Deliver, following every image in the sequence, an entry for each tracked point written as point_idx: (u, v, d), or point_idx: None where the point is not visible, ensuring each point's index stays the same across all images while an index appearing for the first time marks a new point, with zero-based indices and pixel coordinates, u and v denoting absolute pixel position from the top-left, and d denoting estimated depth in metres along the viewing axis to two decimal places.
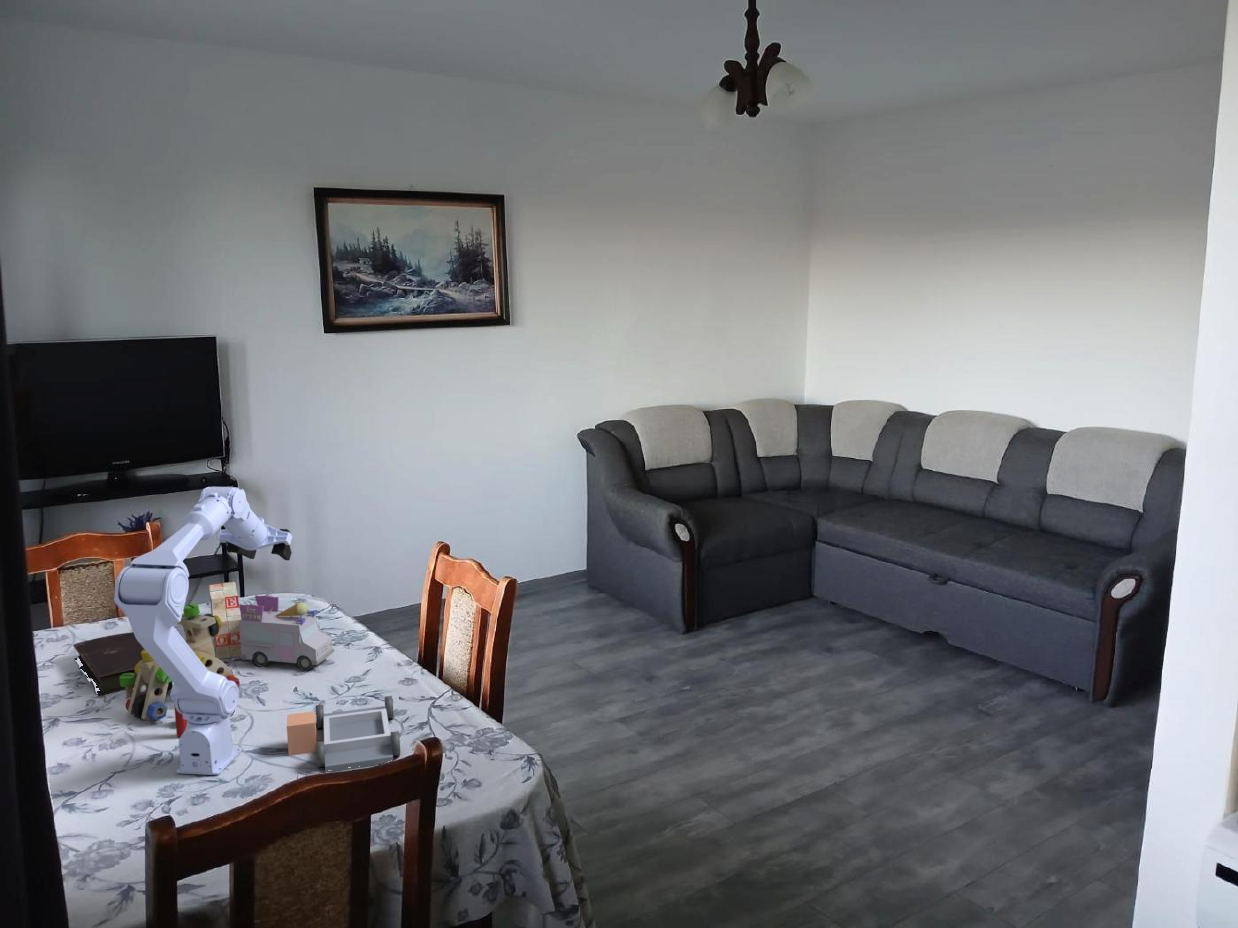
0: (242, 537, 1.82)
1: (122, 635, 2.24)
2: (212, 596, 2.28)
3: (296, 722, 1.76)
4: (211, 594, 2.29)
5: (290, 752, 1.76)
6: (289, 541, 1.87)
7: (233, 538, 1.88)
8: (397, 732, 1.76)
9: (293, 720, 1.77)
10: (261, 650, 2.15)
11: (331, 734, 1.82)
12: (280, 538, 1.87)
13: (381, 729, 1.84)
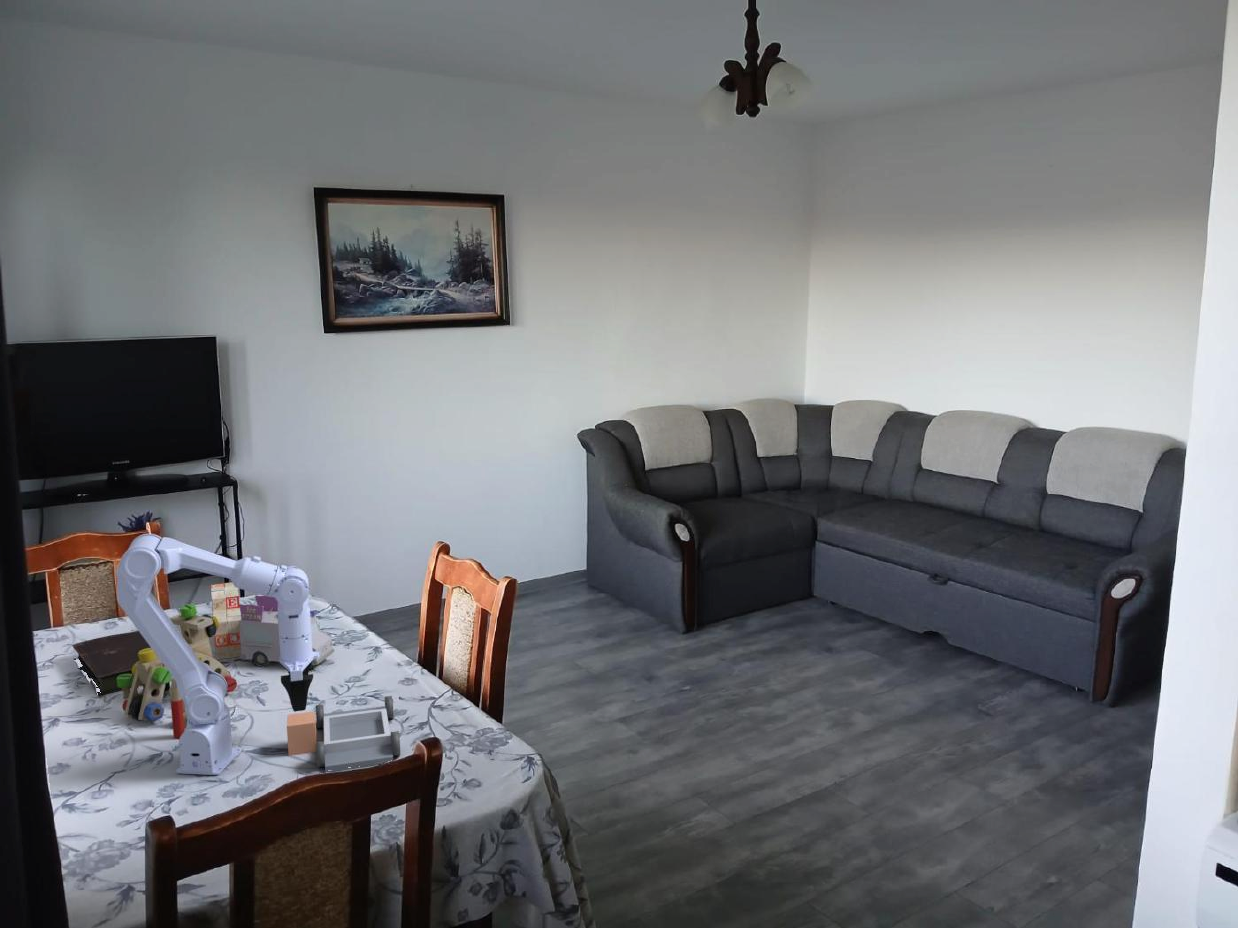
0: (279, 635, 1.73)
1: (121, 635, 2.24)
2: (213, 596, 2.28)
3: (296, 722, 1.76)
4: (212, 594, 2.29)
5: (290, 752, 1.76)
6: (293, 677, 1.69)
7: None
8: (397, 732, 1.76)
9: (293, 720, 1.77)
10: (261, 650, 2.15)
11: (331, 734, 1.82)
12: (294, 669, 1.70)
13: (381, 729, 1.84)
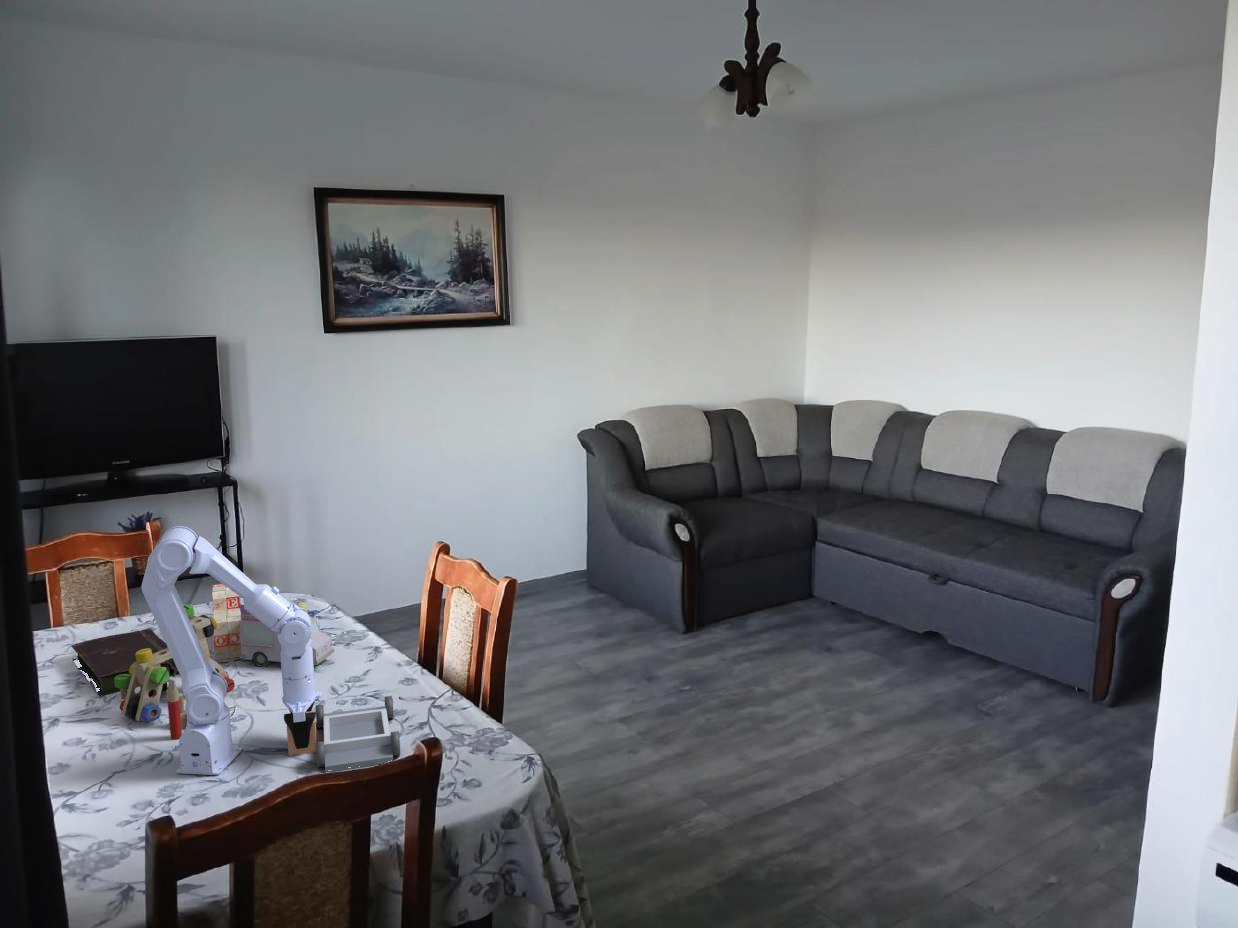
0: (282, 676, 1.75)
1: (120, 635, 2.24)
2: (214, 596, 2.28)
3: None
4: (213, 594, 2.29)
5: (290, 752, 1.76)
6: (296, 718, 1.70)
7: None
8: (397, 732, 1.76)
9: None
10: (261, 650, 2.15)
11: (331, 734, 1.82)
12: (297, 710, 1.72)
13: (381, 729, 1.84)
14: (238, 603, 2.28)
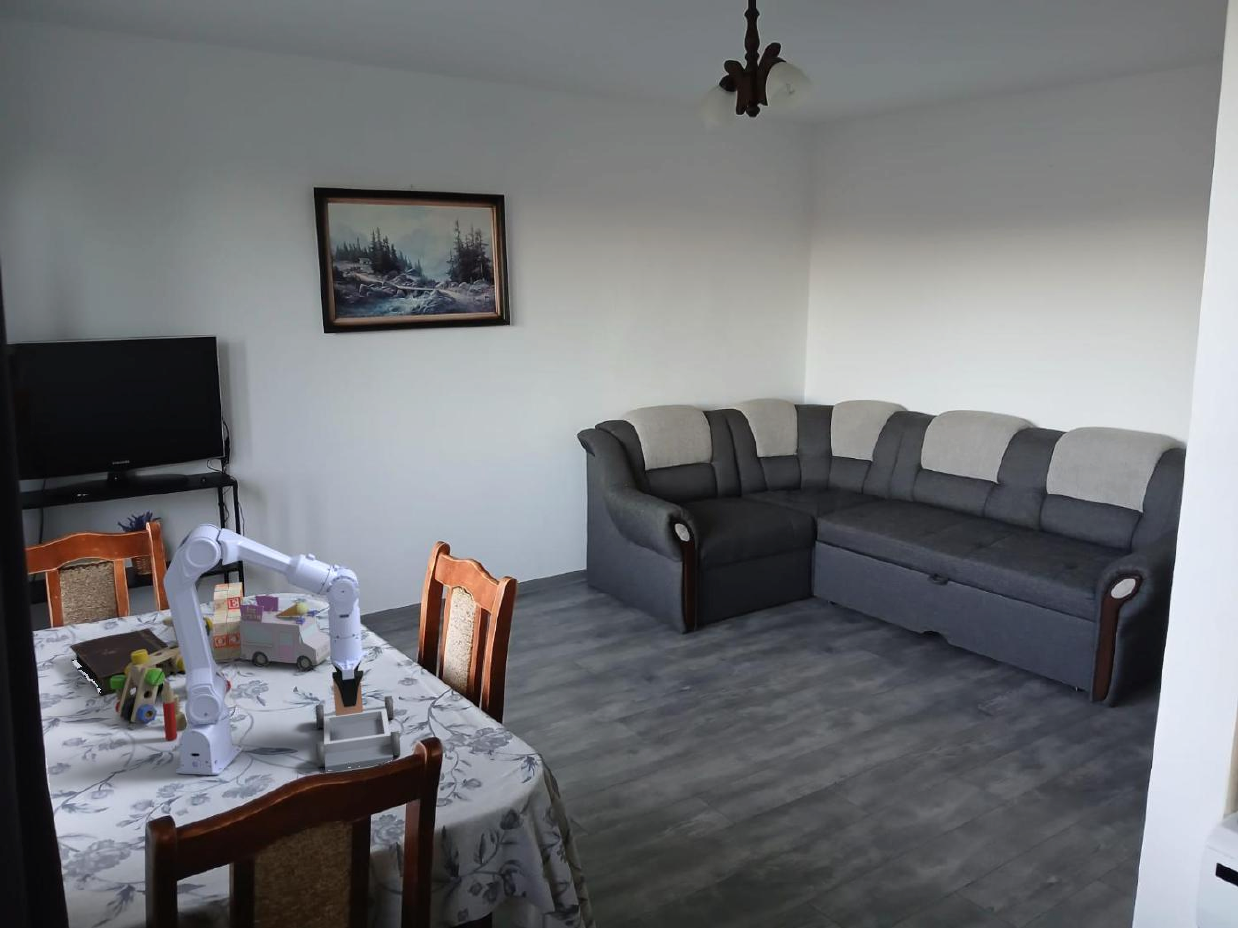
0: None
1: (118, 635, 2.24)
2: (215, 596, 2.27)
3: None
4: (215, 594, 2.29)
5: (337, 712, 1.77)
6: (345, 676, 1.72)
7: None
8: (397, 732, 1.76)
9: None
10: (261, 650, 2.15)
11: (331, 734, 1.82)
12: (345, 668, 1.73)
13: (381, 729, 1.84)
14: (239, 603, 2.28)
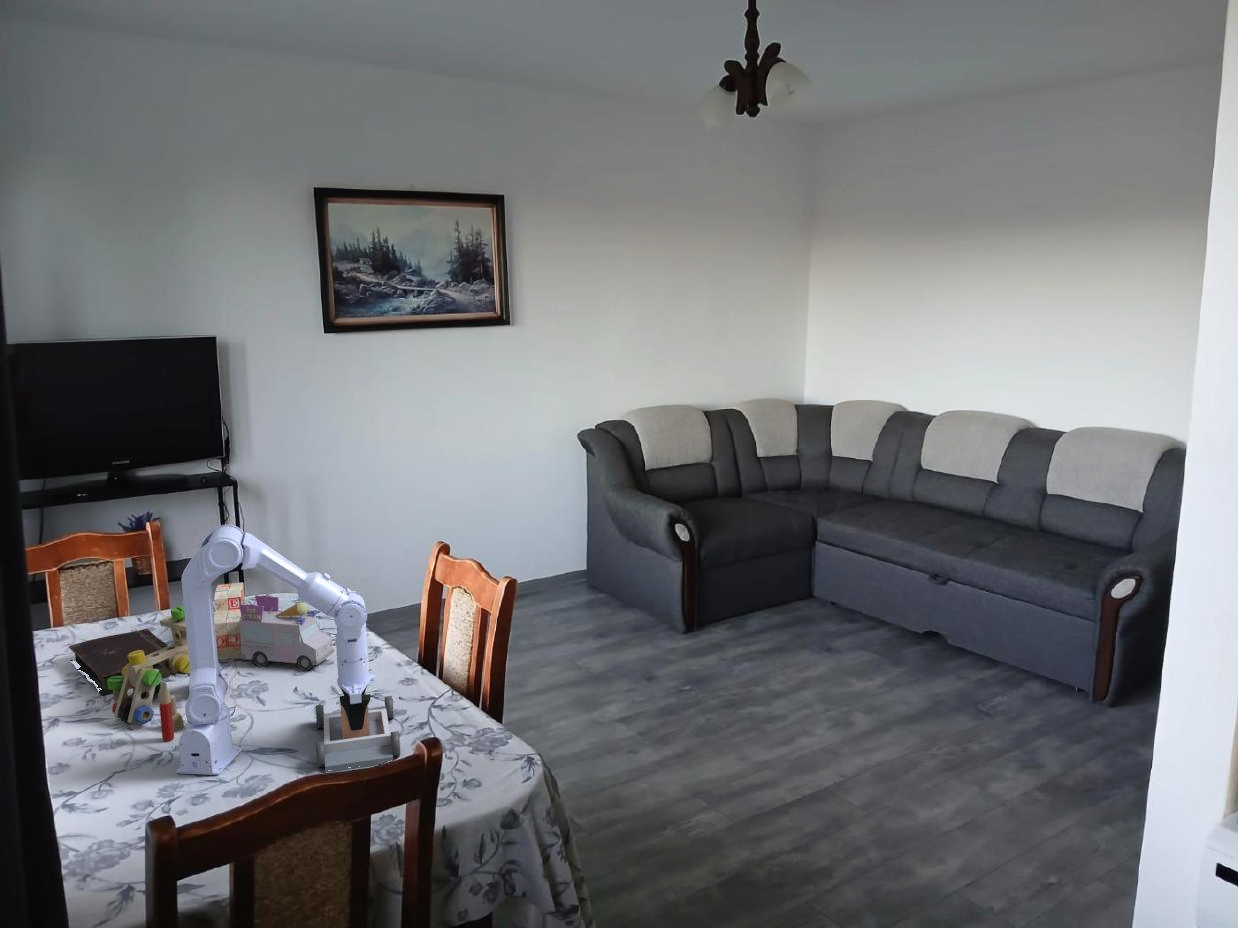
0: (337, 659, 1.77)
1: (118, 636, 2.24)
2: (216, 596, 2.27)
3: None
4: (215, 594, 2.29)
5: (344, 735, 1.78)
6: (352, 700, 1.73)
7: None
8: (397, 732, 1.76)
9: None
10: (261, 650, 2.15)
11: (331, 734, 1.82)
12: (353, 692, 1.74)
13: (381, 729, 1.84)
14: (239, 604, 2.28)
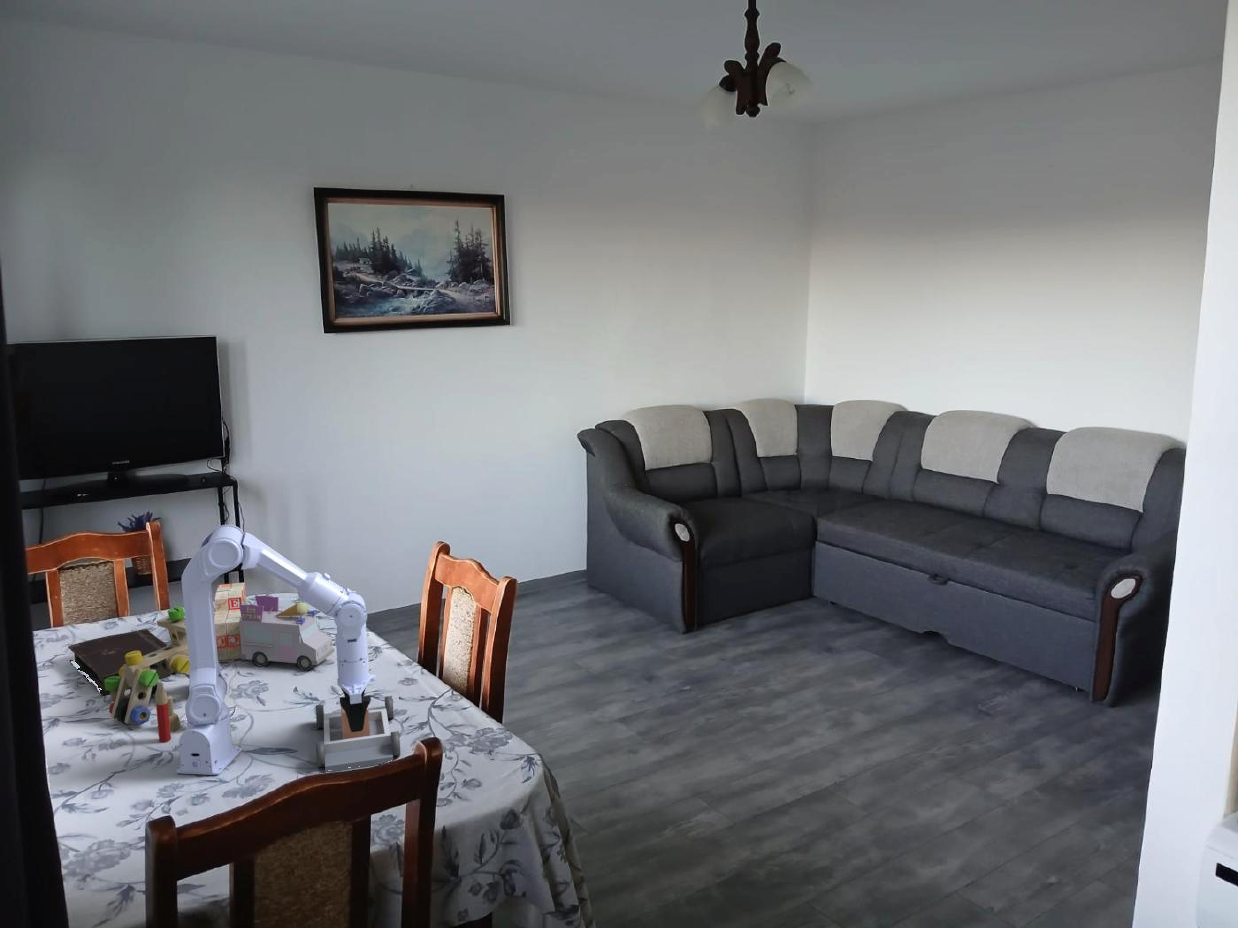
0: (337, 659, 1.77)
1: (117, 636, 2.24)
2: (216, 597, 2.27)
3: None
4: (216, 594, 2.29)
5: (344, 738, 1.79)
6: (352, 700, 1.73)
7: None
8: (397, 732, 1.76)
9: None
10: (261, 650, 2.15)
11: (331, 734, 1.82)
12: (353, 692, 1.74)
13: (381, 729, 1.84)
14: None
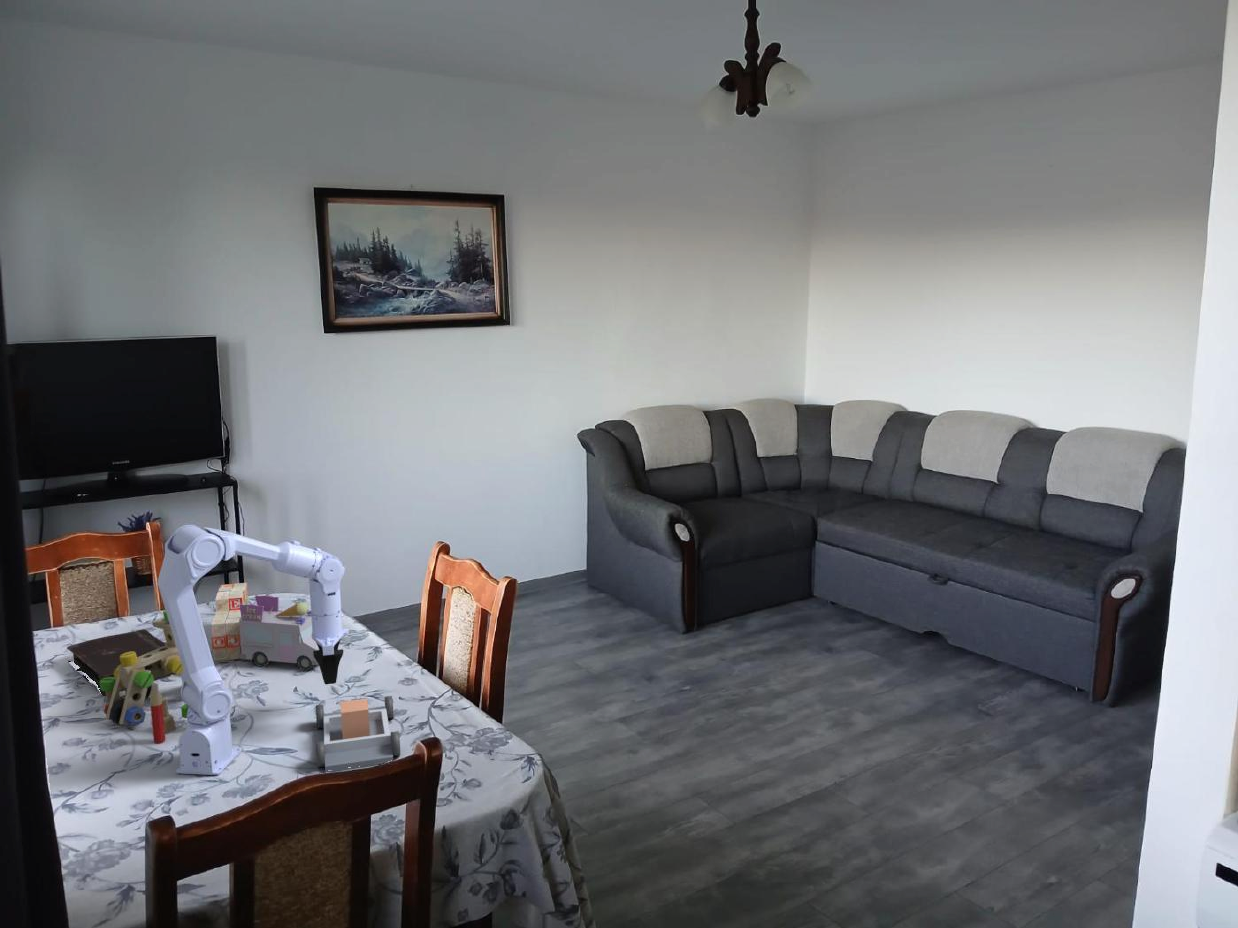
0: (311, 613, 1.85)
1: (116, 636, 2.23)
2: (217, 597, 2.27)
3: (350, 709, 1.79)
4: (217, 595, 2.29)
5: (344, 738, 1.79)
6: (325, 652, 1.80)
7: None
8: (397, 732, 1.76)
9: (347, 707, 1.80)
10: (261, 650, 2.15)
11: (331, 734, 1.82)
12: (326, 644, 1.82)
13: (381, 729, 1.84)
14: None
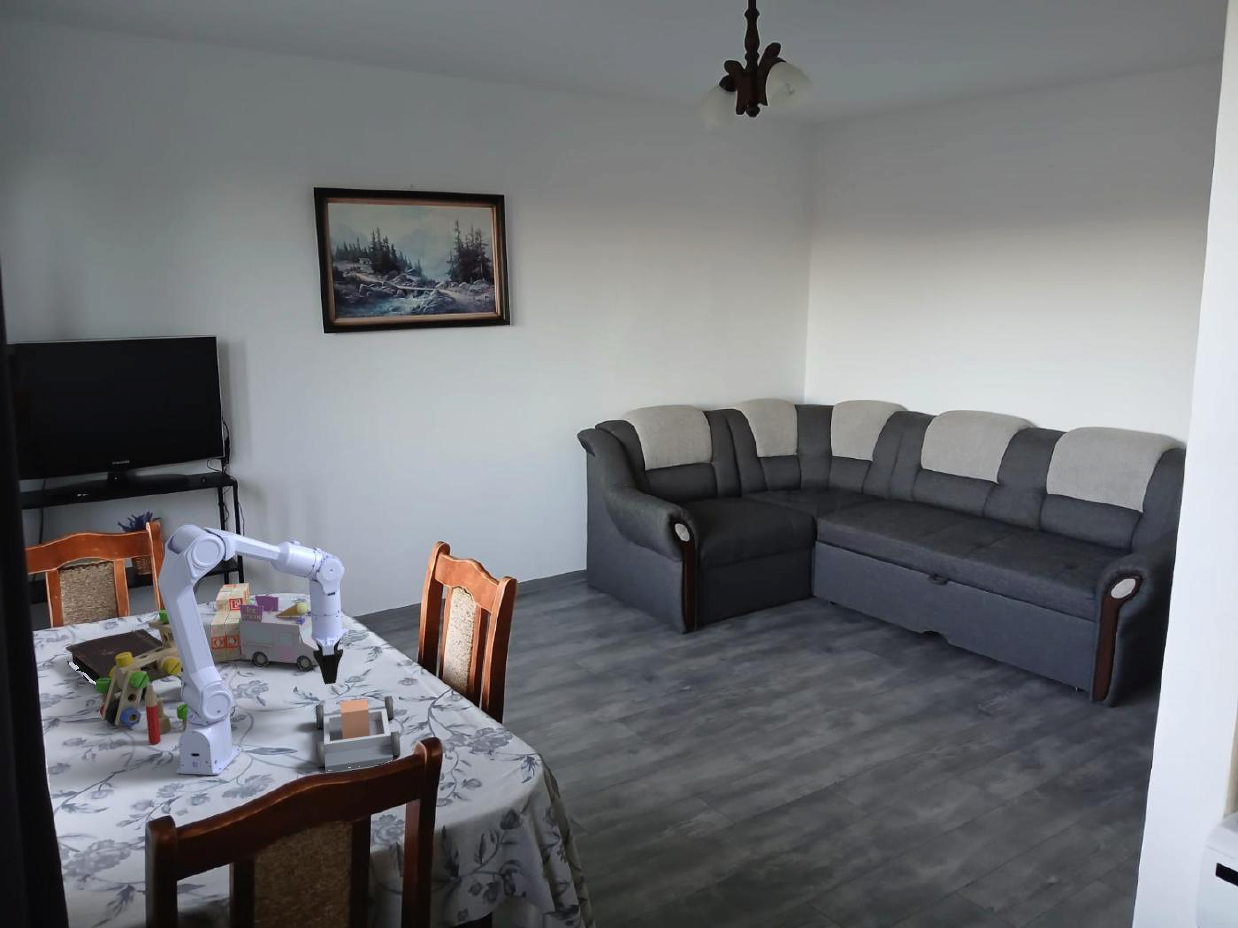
0: (311, 613, 1.85)
1: (114, 636, 2.23)
2: (218, 597, 2.27)
3: (350, 709, 1.79)
4: (218, 595, 2.29)
5: (344, 738, 1.79)
6: (325, 651, 1.80)
7: None
8: (397, 732, 1.76)
9: (347, 707, 1.80)
10: (261, 650, 2.15)
11: (331, 734, 1.82)
12: (326, 644, 1.82)
13: (381, 729, 1.84)
14: None
